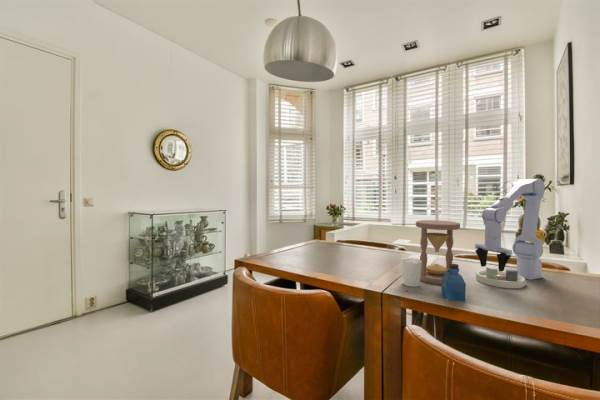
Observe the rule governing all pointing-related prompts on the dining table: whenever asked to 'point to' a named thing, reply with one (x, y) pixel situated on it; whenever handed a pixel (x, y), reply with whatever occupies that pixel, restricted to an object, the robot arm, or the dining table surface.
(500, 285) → the groove tray
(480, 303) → the dining table surface
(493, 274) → the pale green rounded block
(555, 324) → the dining table surface
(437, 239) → the hourglass
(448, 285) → the perfume bottle
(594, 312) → the dining table surface
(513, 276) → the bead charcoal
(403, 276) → the white cup
